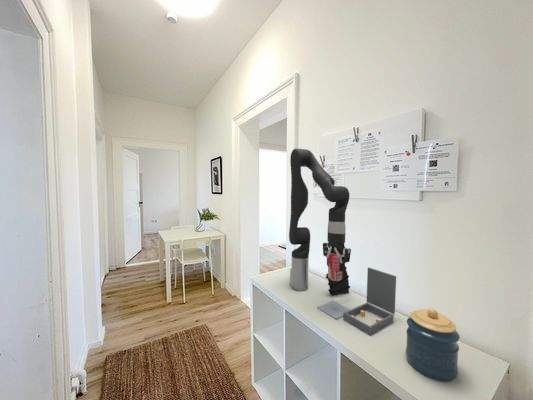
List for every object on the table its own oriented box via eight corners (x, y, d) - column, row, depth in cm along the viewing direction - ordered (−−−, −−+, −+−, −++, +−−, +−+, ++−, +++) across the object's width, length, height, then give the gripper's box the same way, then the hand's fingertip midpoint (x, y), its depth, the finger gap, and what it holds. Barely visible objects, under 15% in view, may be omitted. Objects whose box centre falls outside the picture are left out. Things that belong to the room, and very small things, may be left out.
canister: (434, 349, 76) (436, 298, 75) (470, 382, 63) (473, 321, 62) (396, 350, 75) (398, 299, 75) (425, 383, 63) (427, 321, 62)
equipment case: (343, 319, 93) (344, 274, 92) (367, 308, 102) (369, 267, 101) (370, 335, 83) (371, 285, 82) (394, 321, 92) (396, 276, 91)
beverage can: (332, 275, 104) (333, 250, 104) (345, 279, 100) (345, 252, 99) (325, 279, 100) (325, 252, 99) (338, 283, 95) (339, 255, 95)
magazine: (354, 288, 118) (345, 265, 115) (336, 303, 114) (327, 279, 110) (349, 285, 122) (340, 263, 119) (331, 300, 117) (322, 276, 114)
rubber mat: (316, 307, 102) (316, 306, 102) (333, 301, 108) (333, 300, 108) (336, 319, 93) (336, 318, 93) (353, 312, 99) (353, 311, 99)
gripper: (318, 229, 103) (317, 265, 103) (344, 234, 91) (343, 275, 91) (329, 228, 107) (328, 262, 108) (356, 233, 95) (354, 272, 95)
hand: (335, 268), depth 99 cm, fingers closed on beverage can, 6 cm apart
